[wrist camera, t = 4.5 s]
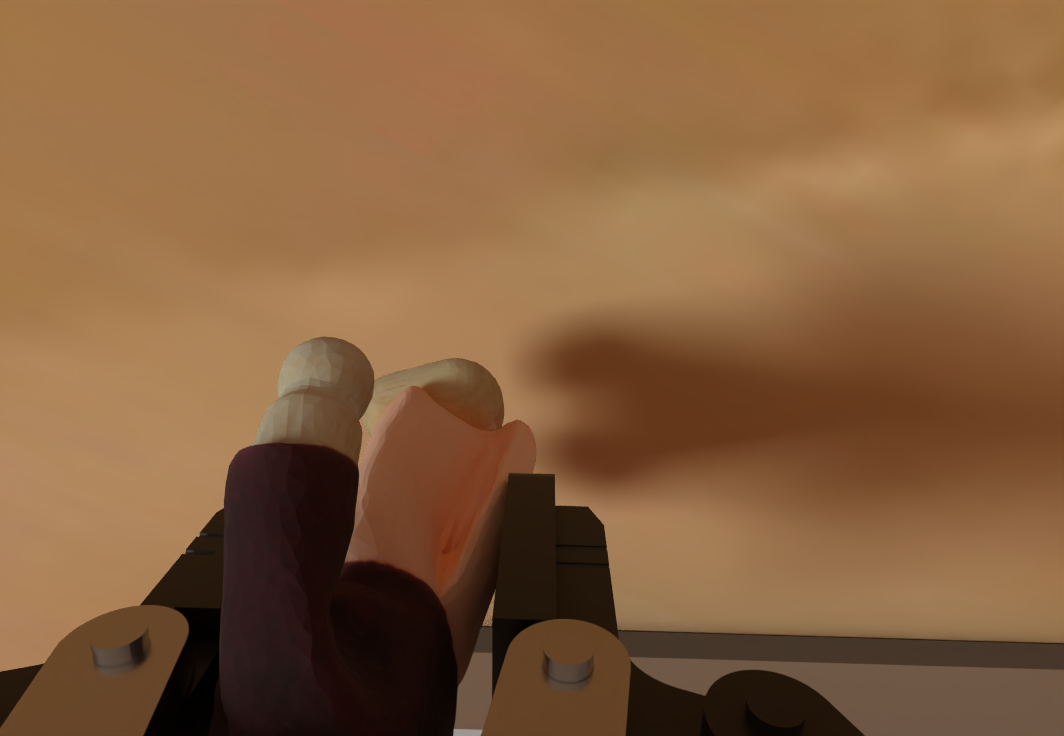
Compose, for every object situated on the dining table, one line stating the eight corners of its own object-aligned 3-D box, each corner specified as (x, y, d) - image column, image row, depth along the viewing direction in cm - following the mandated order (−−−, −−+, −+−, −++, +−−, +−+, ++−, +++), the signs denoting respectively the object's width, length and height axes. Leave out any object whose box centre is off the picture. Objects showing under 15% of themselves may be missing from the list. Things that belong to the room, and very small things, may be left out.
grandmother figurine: (575, 582, 16) (697, 2103, 4) (401, 614, 16) (-5, 2116, 4) (487, 226, 13) (10, 1322, 1) (284, 273, 14) (-1659, 1522, 2)
